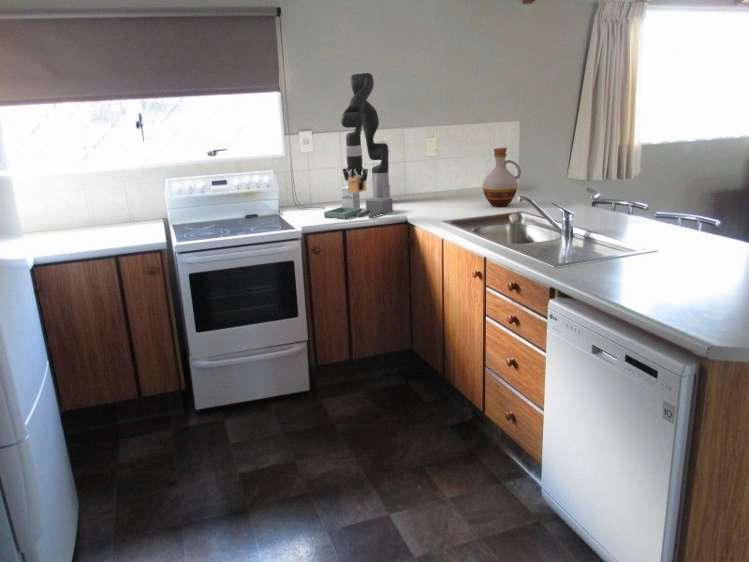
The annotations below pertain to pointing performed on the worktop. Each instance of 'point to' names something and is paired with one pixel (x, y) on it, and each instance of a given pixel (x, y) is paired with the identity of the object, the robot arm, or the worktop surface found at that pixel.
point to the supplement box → (350, 198)
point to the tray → (342, 212)
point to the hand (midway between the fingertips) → (356, 189)
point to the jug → (500, 181)
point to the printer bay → (377, 207)
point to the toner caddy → (355, 185)
